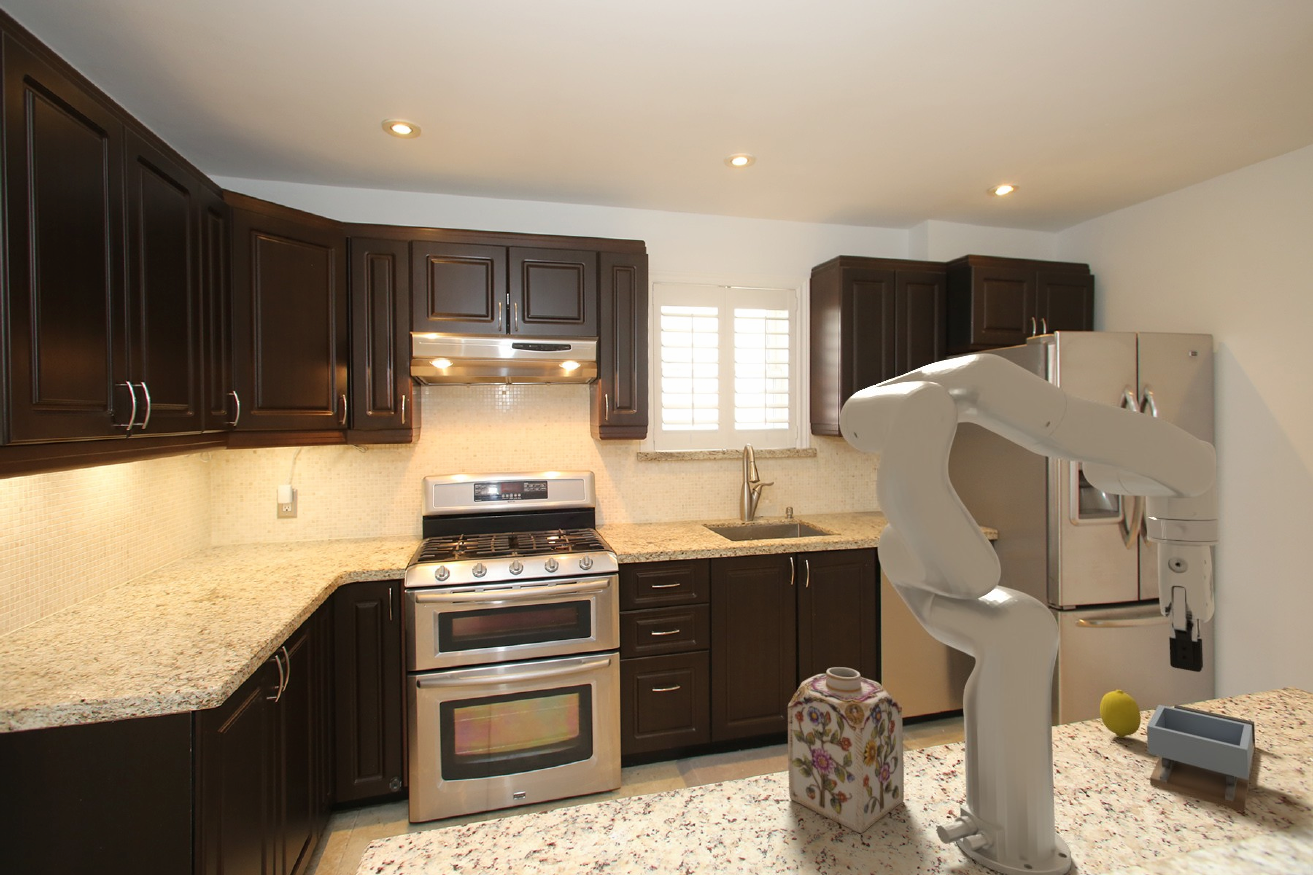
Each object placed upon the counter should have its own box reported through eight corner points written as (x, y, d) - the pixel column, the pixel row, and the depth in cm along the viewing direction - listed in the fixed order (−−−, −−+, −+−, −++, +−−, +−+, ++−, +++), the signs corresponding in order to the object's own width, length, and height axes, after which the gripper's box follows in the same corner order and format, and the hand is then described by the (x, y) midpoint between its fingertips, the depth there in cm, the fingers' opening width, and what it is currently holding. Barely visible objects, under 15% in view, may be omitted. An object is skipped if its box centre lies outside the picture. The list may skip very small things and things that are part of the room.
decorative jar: (786, 799, 89) (784, 671, 90) (833, 771, 97) (830, 652, 97) (863, 837, 80) (860, 694, 81) (908, 802, 88) (904, 672, 88)
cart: (1248, 794, 85) (1247, 749, 85) (1148, 767, 93) (1146, 725, 93) (1253, 766, 93) (1251, 724, 93) (1160, 742, 100) (1158, 704, 101)
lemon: (1127, 730, 109) (1126, 684, 109) (1149, 745, 103) (1147, 696, 103) (1093, 730, 109) (1092, 683, 109) (1113, 744, 104) (1111, 695, 104)
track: (1244, 811, 84) (1243, 781, 84) (1150, 784, 91) (1149, 756, 92) (1255, 746, 102) (1254, 721, 103) (1175, 727, 110) (1175, 704, 110)
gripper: (1212, 539, 78) (1218, 690, 77) (1224, 528, 88) (1228, 660, 88) (1137, 534, 83) (1141, 675, 83) (1156, 524, 94) (1160, 649, 93)
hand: (1186, 667), depth 85 cm, fingers closed
